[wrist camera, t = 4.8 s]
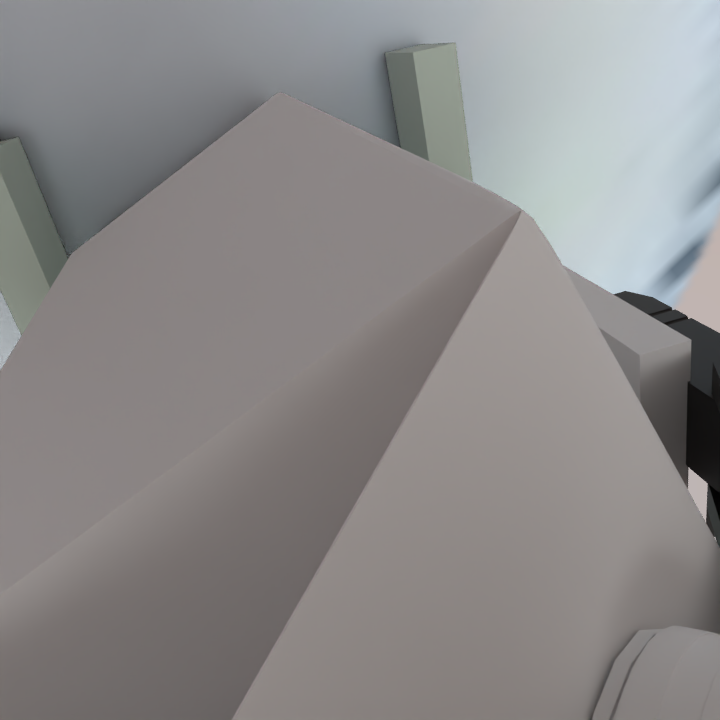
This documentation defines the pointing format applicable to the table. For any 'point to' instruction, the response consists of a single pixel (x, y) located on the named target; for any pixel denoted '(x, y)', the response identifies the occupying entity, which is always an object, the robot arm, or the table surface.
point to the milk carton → (337, 462)
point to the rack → (416, 135)
